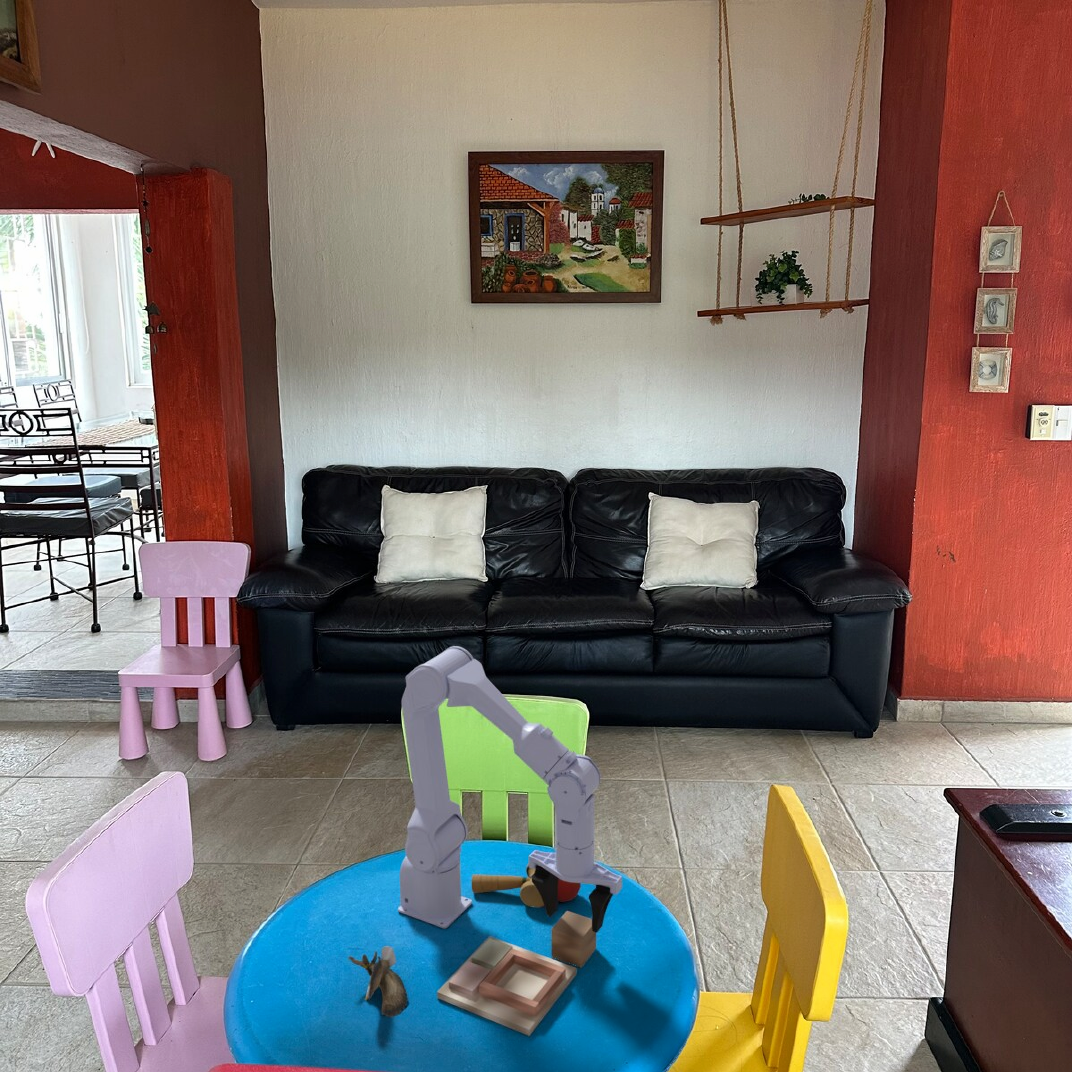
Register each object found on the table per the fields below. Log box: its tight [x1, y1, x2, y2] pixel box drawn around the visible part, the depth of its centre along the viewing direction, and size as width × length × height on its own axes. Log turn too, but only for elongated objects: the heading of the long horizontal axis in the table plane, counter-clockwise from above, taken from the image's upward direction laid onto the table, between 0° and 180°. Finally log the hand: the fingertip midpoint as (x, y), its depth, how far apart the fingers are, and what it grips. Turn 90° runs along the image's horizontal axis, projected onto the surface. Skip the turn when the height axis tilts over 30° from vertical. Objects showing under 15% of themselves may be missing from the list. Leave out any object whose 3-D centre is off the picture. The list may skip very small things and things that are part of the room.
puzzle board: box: [436, 935, 578, 1037], centre depth 140 cm, size 15×14×2 cm
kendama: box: [471, 862, 582, 908], centre depth 161 cm, size 8×6×18 cm
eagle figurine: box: [348, 945, 409, 1018], centre depth 138 cm, size 8×7×9 cm
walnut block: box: [550, 910, 597, 969], centre depth 147 cm, size 5×5×5 cm
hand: (574, 920), depth 146 cm, fingers open, 7 cm apart
